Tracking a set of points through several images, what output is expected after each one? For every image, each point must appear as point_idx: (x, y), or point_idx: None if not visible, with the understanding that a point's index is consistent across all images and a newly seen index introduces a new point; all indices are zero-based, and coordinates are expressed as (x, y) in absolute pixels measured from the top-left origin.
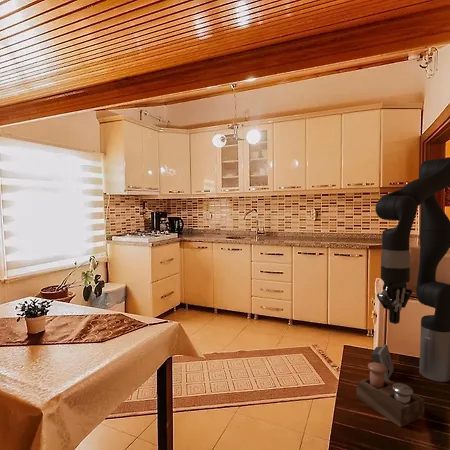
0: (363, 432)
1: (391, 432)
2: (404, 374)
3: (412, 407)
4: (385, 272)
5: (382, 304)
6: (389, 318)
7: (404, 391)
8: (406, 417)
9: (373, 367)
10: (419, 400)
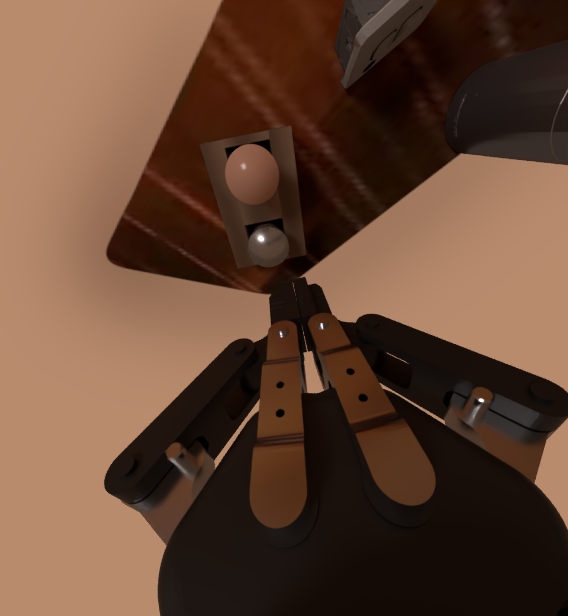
0: (166, 250)
1: (216, 260)
2: (418, 72)
3: None
4: None
5: (201, 380)
6: (270, 302)
7: (263, 259)
8: None
9: (236, 179)
10: (294, 255)
